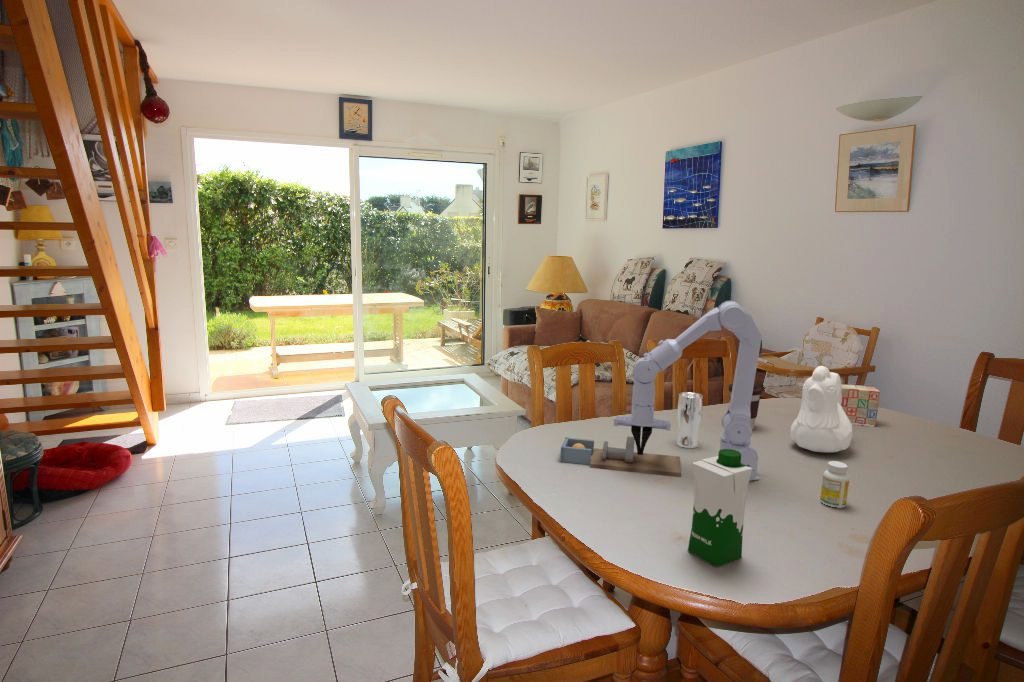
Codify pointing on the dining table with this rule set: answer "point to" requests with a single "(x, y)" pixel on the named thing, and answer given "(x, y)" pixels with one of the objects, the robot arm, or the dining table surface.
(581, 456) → the cup
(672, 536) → the dining table surface
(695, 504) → the milk carton
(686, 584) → the dining table surface
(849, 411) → the stack of blocks
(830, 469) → the supplement bottle
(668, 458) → the launcher board
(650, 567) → the dining table surface
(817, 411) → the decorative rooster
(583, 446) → the ball
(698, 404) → the silver soda can
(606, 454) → the grey h-shaped block
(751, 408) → the coffee cup
